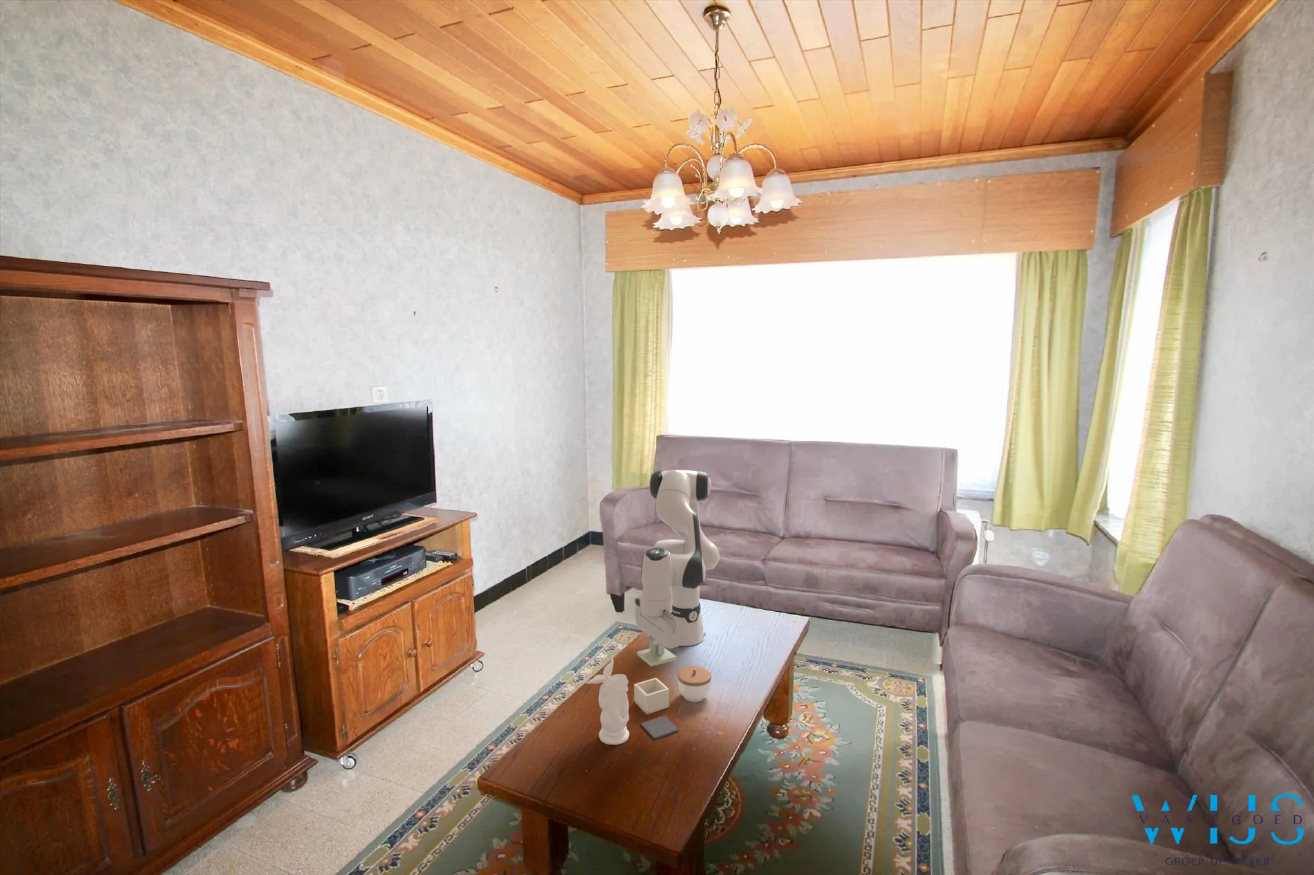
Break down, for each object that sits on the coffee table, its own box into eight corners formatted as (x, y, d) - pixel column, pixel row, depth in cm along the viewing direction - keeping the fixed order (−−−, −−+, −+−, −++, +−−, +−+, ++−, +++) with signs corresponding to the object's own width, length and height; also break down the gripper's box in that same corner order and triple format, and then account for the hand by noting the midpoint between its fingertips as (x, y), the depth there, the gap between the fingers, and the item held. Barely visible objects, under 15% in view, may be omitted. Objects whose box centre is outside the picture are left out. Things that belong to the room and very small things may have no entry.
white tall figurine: (631, 747, 171) (631, 673, 168) (586, 751, 169) (585, 677, 166) (626, 721, 183) (626, 652, 179) (584, 725, 181) (583, 655, 178)
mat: (641, 725, 181) (641, 723, 181) (664, 717, 185) (664, 715, 185) (654, 739, 174) (654, 737, 174) (678, 731, 178) (678, 729, 178)
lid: (637, 654, 180) (637, 640, 180) (661, 648, 184) (661, 634, 184) (650, 666, 173) (651, 651, 173) (676, 659, 177) (676, 644, 177)
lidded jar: (708, 708, 190) (709, 679, 189) (674, 704, 192) (674, 676, 191) (712, 690, 200) (713, 663, 199) (680, 686, 202) (680, 659, 201)
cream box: (634, 701, 193) (634, 684, 192) (656, 695, 197) (656, 677, 196) (646, 714, 186) (646, 696, 185) (669, 707, 190) (669, 689, 189)
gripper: (685, 615, 170) (684, 663, 171) (649, 592, 188) (649, 636, 189) (665, 619, 167) (665, 668, 168) (631, 596, 184) (631, 640, 186)
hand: (656, 651), depth 179 cm, fingers closed on lid, 3 cm apart
